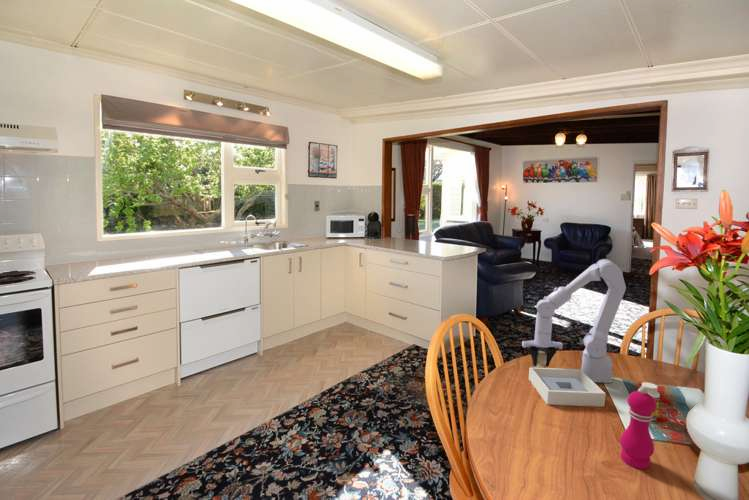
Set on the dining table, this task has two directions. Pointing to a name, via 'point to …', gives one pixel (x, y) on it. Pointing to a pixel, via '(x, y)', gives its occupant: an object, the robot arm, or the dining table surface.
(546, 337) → the robot arm
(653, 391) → the supplement bottle
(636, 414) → the pepper mill
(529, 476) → the dining table surface
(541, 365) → the peg
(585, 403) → the tray
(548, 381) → the bore plate
